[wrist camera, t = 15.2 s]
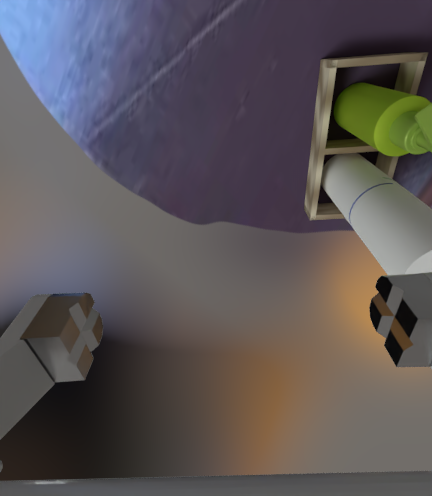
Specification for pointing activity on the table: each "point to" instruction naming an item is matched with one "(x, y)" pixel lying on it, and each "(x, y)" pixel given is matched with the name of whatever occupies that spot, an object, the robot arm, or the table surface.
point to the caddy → (405, 83)
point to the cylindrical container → (381, 213)
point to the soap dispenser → (386, 118)
